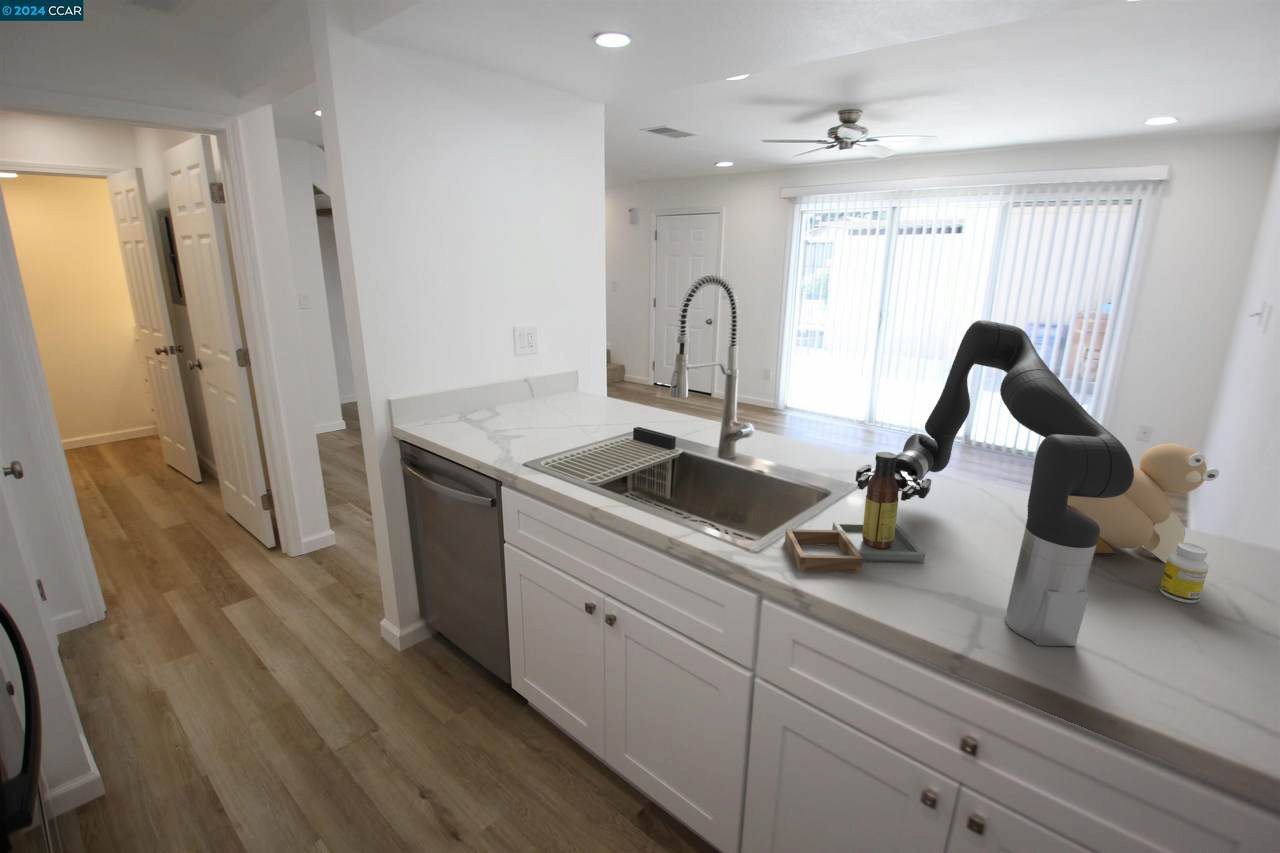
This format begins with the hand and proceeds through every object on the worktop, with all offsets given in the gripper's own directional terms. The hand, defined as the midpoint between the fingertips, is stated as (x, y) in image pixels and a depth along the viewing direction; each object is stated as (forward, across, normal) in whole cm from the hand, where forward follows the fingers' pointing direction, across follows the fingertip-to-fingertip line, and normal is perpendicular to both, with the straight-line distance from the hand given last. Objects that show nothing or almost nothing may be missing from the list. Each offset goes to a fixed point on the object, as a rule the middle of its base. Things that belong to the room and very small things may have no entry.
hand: (881, 490), depth 118 cm
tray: (-1, 0, +13) cm, 13 cm away
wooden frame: (+11, -7, +13) cm, 18 cm away
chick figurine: (-33, +36, +13) cm, 51 cm away
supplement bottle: (-20, +49, +13) cm, 54 cm away
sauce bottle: (-1, 0, +13) cm, 13 cm away
